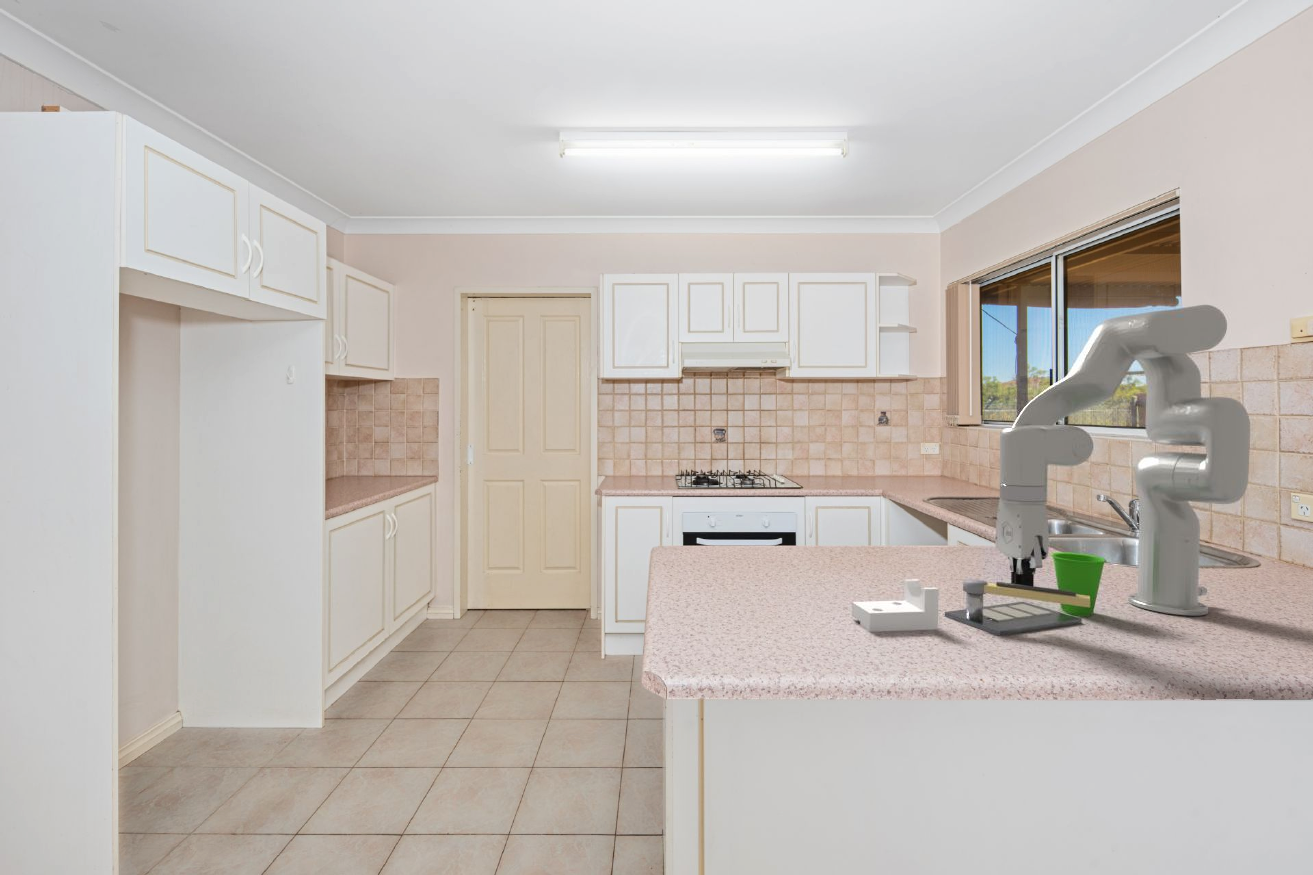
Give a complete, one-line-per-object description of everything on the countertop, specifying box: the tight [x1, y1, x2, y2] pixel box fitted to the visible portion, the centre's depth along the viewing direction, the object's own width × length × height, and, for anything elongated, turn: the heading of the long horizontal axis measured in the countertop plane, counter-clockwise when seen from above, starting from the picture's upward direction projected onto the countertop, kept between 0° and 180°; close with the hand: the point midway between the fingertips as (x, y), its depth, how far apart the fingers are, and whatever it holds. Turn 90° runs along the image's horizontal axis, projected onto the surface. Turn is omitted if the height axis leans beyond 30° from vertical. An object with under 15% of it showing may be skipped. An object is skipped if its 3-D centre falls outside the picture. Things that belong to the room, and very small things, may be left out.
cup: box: [1050, 551, 1107, 617], centre depth 123 cm, size 9×9×11 cm
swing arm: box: [962, 578, 1090, 607], centre depth 111 cm, size 20×4×2 cm, turn 57°
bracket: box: [851, 578, 940, 633], centre depth 115 cm, size 13×7×8 cm, turn 98°
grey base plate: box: [944, 592, 1083, 637], centre depth 118 cm, size 21×12×6 cm, turn 111°
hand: (1022, 594), depth 114 cm, fingers closed
